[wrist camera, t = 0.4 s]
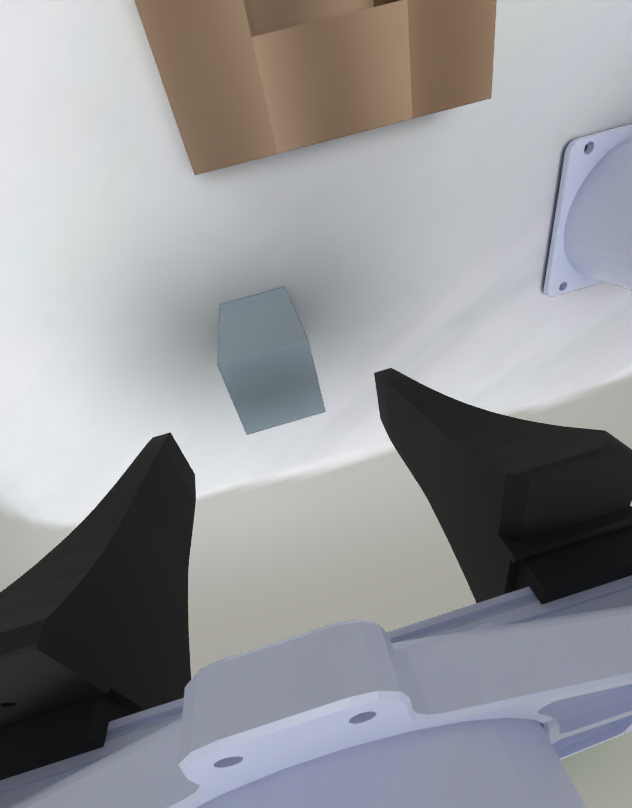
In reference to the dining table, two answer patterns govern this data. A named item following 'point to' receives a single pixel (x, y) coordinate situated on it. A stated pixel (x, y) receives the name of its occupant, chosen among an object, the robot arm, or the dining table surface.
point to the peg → (267, 361)
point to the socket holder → (312, 68)
